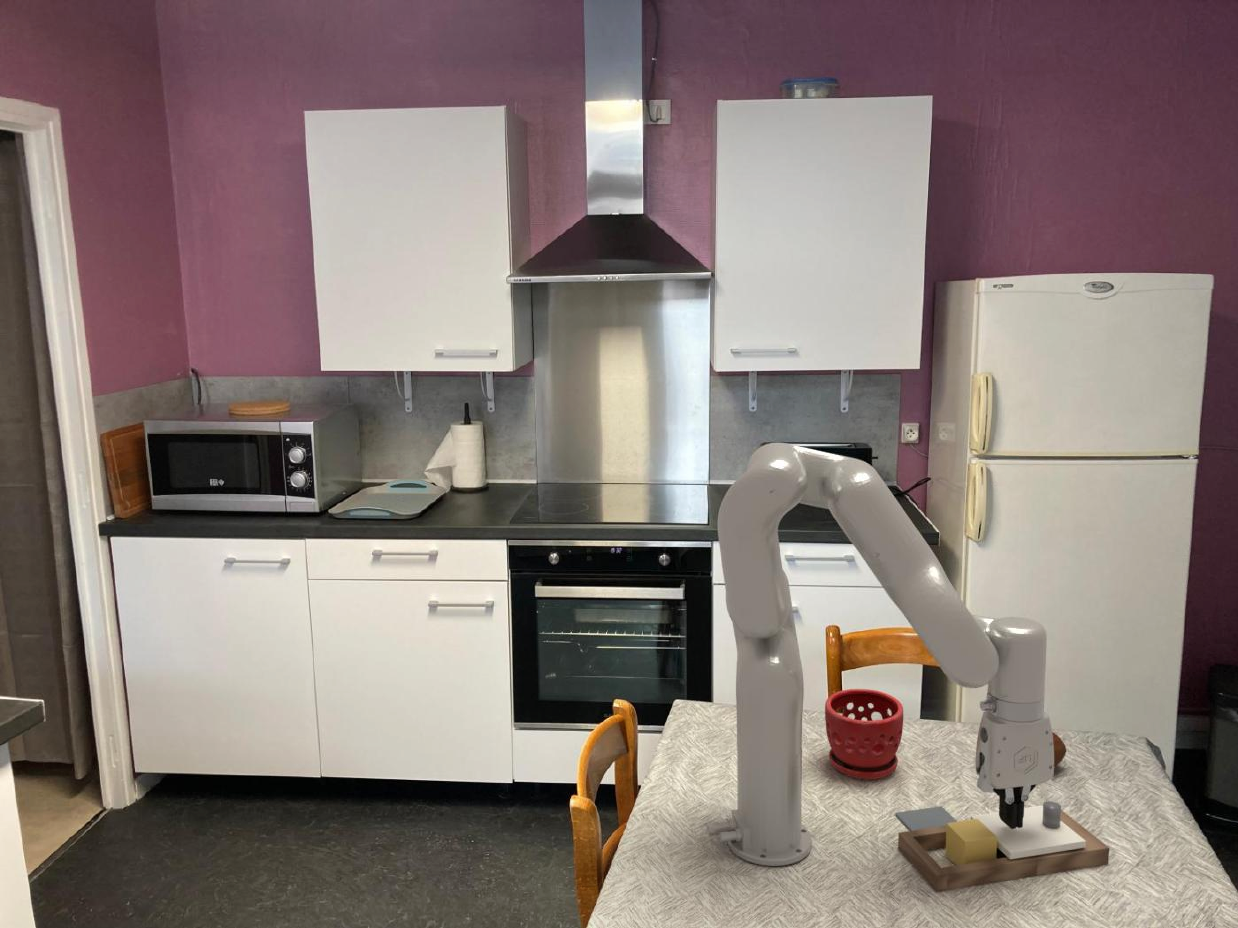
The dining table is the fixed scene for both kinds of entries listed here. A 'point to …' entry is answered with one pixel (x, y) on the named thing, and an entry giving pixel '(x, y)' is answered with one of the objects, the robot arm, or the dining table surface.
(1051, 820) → the lid
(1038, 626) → the robot arm
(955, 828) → the block
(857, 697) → the plant pot
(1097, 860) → the brown box
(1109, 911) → the dining table surface
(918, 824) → the mat
